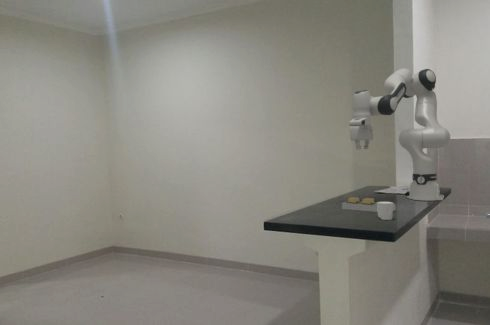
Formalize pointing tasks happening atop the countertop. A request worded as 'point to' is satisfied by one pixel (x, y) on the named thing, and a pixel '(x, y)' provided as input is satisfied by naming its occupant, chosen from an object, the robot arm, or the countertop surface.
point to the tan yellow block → (368, 201)
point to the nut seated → (353, 200)
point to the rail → (362, 206)
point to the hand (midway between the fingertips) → (362, 149)
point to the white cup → (385, 210)
